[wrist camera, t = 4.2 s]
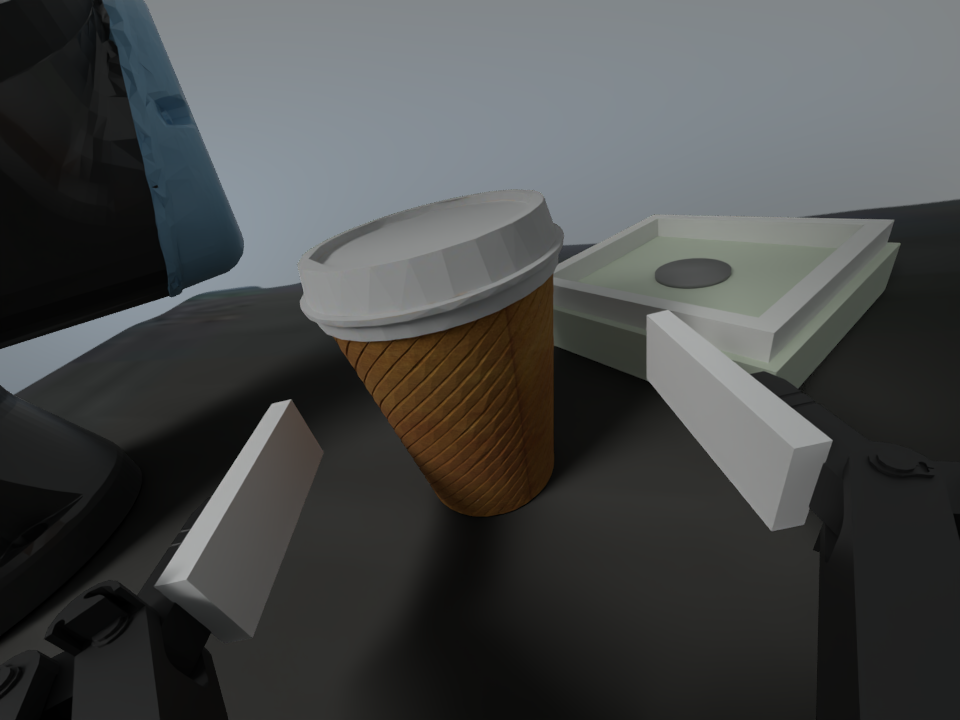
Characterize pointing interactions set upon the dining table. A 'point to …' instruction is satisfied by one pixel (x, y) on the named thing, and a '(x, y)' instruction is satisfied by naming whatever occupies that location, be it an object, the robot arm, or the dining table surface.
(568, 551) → the dining table surface
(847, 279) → the square rimmed tray
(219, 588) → the robot arm
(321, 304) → the disposable coffee cup
